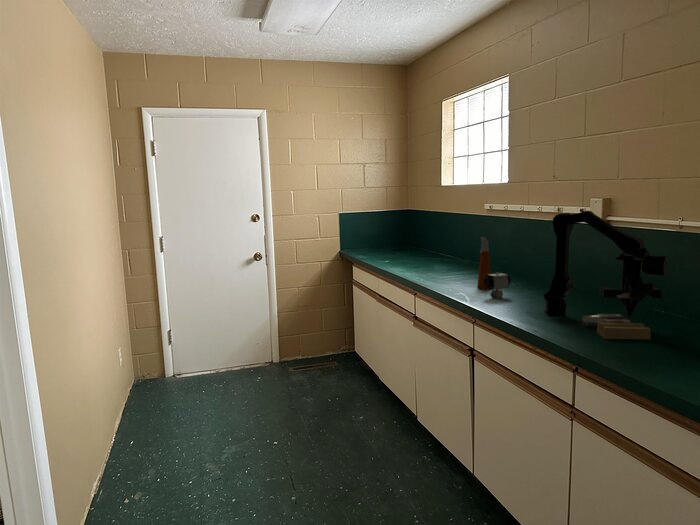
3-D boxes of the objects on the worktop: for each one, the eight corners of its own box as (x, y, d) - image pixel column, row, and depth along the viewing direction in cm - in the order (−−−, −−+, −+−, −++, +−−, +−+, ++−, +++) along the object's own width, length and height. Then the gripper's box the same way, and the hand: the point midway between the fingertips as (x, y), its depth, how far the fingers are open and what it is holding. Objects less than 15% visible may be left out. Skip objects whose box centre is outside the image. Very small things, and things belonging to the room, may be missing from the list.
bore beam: (605, 329, 168) (606, 321, 167) (595, 321, 177) (596, 313, 177) (630, 330, 166) (630, 321, 166) (619, 322, 176) (619, 314, 176)
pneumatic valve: (482, 298, 220) (483, 272, 218) (503, 295, 224) (504, 270, 222) (490, 300, 215) (490, 274, 213) (511, 298, 219) (512, 272, 217)
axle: (584, 328, 172) (585, 318, 170) (580, 322, 175) (582, 313, 174) (626, 329, 170) (627, 319, 168) (621, 323, 173) (623, 313, 172)
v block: (604, 338, 158) (604, 328, 158) (596, 332, 165) (597, 322, 164) (650, 339, 156) (651, 329, 155) (641, 333, 163) (641, 323, 162)
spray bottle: (472, 290, 237) (473, 237, 233) (479, 286, 246) (480, 235, 242) (486, 291, 233) (487, 237, 229) (493, 287, 242) (494, 235, 238)
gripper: (611, 277, 162) (608, 322, 164) (671, 277, 159) (668, 322, 161) (599, 271, 173) (597, 313, 175) (656, 271, 170) (653, 314, 172)
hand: (628, 316), depth 171 cm, fingers closed
